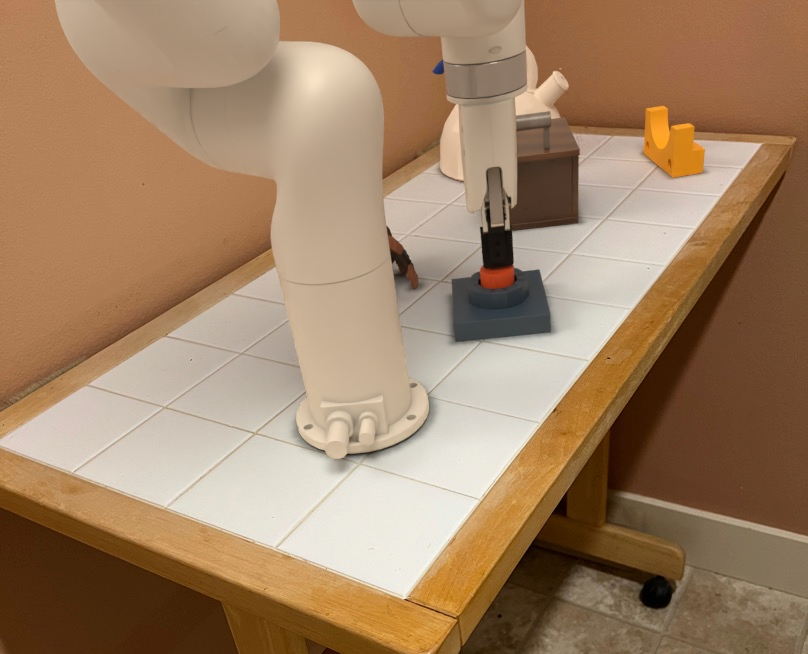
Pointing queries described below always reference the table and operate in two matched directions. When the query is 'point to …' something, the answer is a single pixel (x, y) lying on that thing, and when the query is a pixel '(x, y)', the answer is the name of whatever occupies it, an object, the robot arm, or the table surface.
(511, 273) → the button
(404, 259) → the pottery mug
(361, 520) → the table surface
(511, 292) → the control block
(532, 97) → the kettle
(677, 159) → the pipe clamp
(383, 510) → the table surface
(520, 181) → the lidded box
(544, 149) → the box lid
